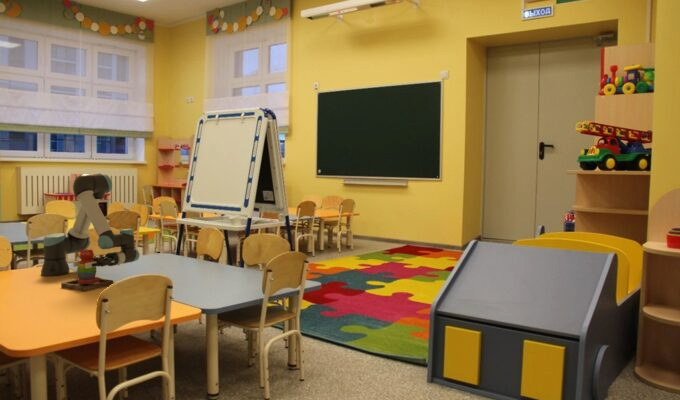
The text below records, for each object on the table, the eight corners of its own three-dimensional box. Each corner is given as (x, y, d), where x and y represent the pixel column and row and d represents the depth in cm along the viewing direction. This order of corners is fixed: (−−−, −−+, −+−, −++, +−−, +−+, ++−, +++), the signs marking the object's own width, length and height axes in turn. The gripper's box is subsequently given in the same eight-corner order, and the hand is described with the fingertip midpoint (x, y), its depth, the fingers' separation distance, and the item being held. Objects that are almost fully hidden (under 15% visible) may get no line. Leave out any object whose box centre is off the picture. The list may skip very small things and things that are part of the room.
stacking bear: (102, 280, 301) (101, 248, 299) (91, 284, 291) (91, 251, 289) (83, 279, 302) (82, 247, 300) (72, 283, 292) (71, 250, 290)
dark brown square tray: (61, 287, 292) (61, 283, 292) (90, 281, 308) (90, 276, 308) (84, 291, 284) (84, 286, 284) (113, 284, 300) (113, 280, 300)
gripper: (128, 267, 307) (93, 274, 287) (101, 263, 316) (66, 270, 296) (128, 253, 306) (93, 259, 286) (101, 250, 316) (65, 256, 296)
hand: (79, 265), depth 291 cm, fingers closed on stacking bear, 9 cm apart
